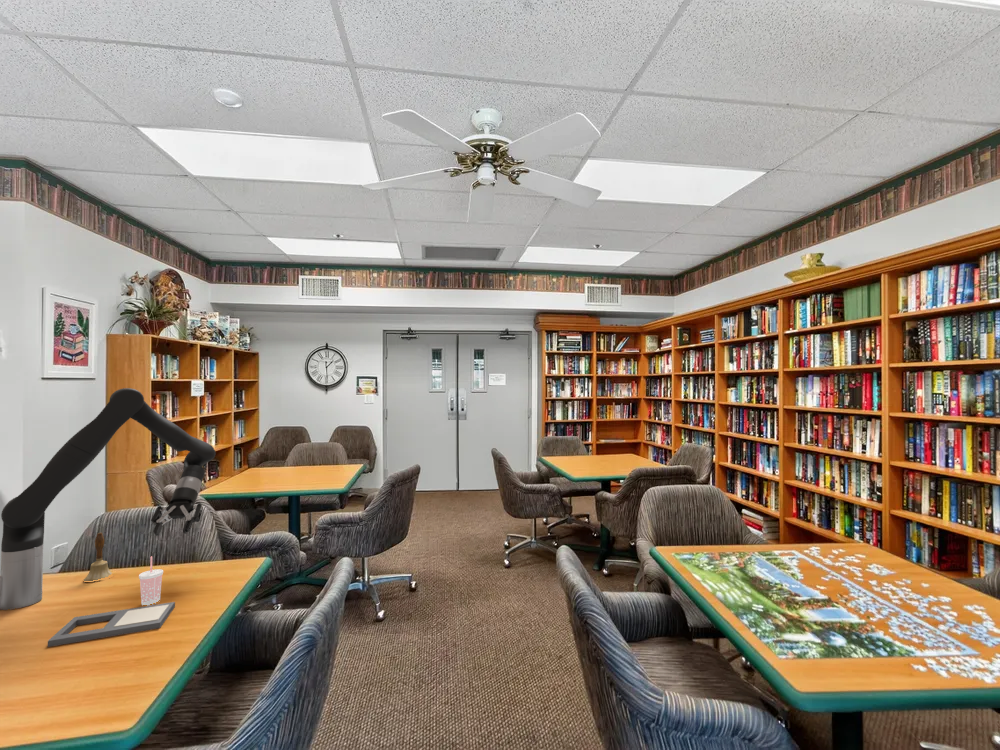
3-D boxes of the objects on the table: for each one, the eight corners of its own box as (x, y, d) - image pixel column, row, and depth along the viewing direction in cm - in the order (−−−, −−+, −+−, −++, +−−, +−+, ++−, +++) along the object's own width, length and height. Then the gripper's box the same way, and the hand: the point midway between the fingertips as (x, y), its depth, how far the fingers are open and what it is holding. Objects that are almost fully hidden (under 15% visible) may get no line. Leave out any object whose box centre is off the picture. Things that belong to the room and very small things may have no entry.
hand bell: (119, 574, 168) (120, 530, 168) (95, 583, 160) (96, 536, 160) (102, 573, 169) (102, 528, 170) (76, 582, 161) (77, 535, 162)
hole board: (47, 647, 118) (47, 640, 118) (74, 622, 131) (74, 616, 131) (160, 628, 127) (160, 621, 127) (174, 606, 140) (174, 601, 140)
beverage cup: (158, 596, 148) (159, 551, 148) (166, 601, 144) (166, 555, 145) (135, 603, 143) (135, 557, 143) (142, 608, 139) (143, 561, 140)
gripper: (160, 487, 164) (142, 529, 152) (205, 485, 166) (190, 526, 155) (168, 499, 169) (151, 541, 157) (211, 496, 171) (197, 537, 160)
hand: (170, 533), depth 156 cm, fingers open, 8 cm apart
